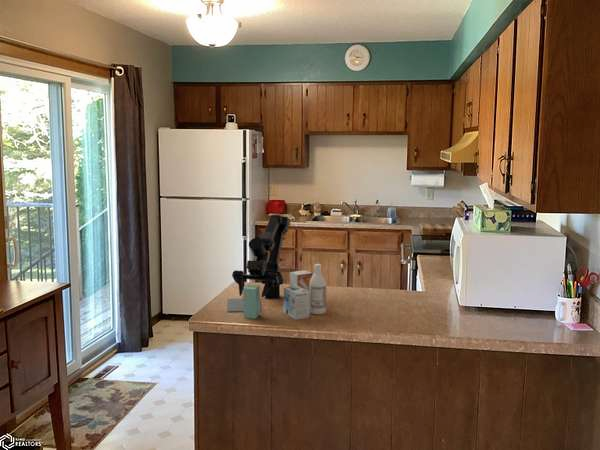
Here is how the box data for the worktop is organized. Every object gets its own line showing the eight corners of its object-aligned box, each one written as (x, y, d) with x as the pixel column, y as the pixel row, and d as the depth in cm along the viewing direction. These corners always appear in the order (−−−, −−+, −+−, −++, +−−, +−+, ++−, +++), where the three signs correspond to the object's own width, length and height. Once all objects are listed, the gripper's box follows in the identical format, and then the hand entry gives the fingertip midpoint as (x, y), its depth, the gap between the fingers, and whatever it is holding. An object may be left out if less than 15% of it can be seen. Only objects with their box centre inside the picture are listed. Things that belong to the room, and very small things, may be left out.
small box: (297, 304, 234) (297, 275, 232) (289, 300, 239) (289, 272, 237) (312, 301, 238) (312, 272, 236) (304, 298, 243) (304, 269, 241)
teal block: (247, 313, 220) (247, 285, 219) (259, 314, 219) (259, 286, 217) (243, 317, 216) (243, 288, 214) (255, 318, 214) (255, 289, 213)
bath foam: (328, 313, 221) (329, 265, 218) (312, 315, 219) (313, 266, 216) (321, 308, 228) (322, 262, 225) (306, 310, 225) (306, 263, 222)
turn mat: (259, 298, 241) (259, 298, 241) (261, 311, 224) (261, 310, 224) (227, 299, 240) (227, 298, 240) (226, 312, 222) (226, 311, 222)
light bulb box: (282, 312, 222) (283, 287, 221) (297, 310, 226) (297, 285, 224) (295, 320, 213) (295, 293, 212) (310, 317, 216) (310, 291, 215)
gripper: (233, 251, 221) (223, 283, 212) (277, 253, 216) (269, 287, 207) (240, 265, 229) (231, 298, 220) (282, 268, 225) (275, 301, 216)
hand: (251, 296), depth 216 cm, fingers open, 9 cm apart
